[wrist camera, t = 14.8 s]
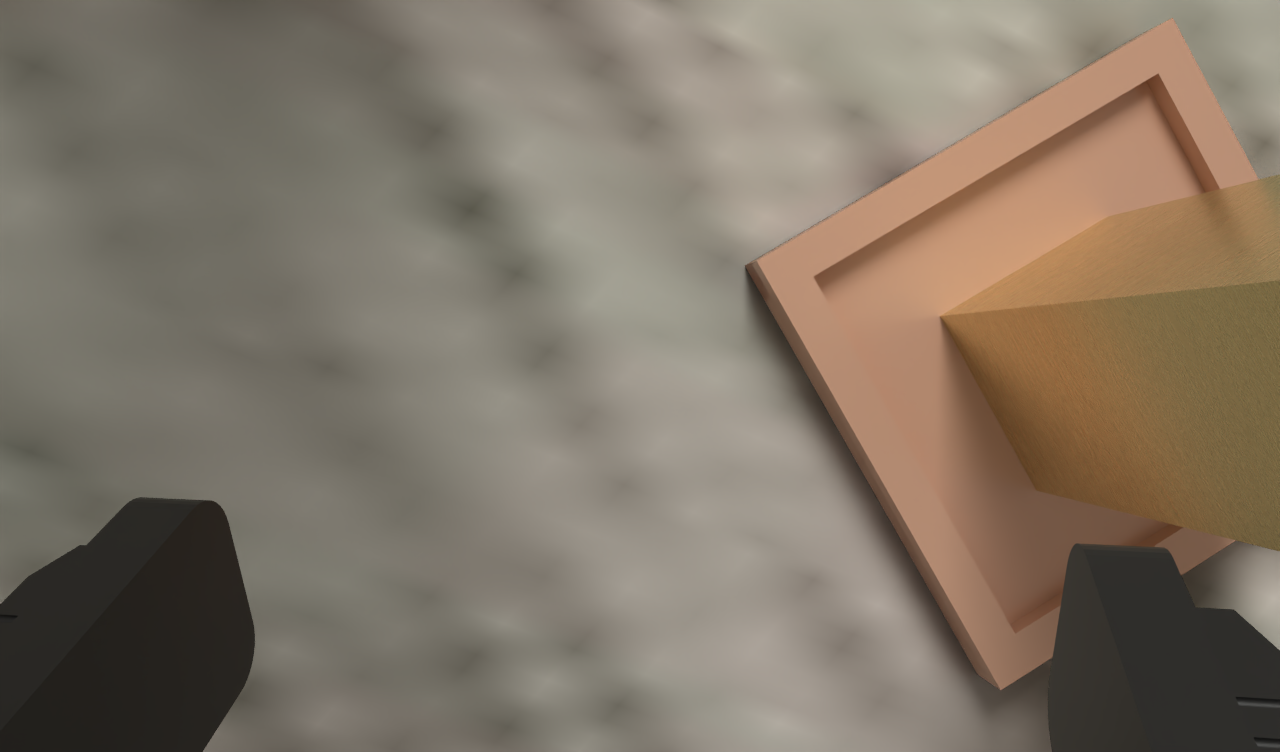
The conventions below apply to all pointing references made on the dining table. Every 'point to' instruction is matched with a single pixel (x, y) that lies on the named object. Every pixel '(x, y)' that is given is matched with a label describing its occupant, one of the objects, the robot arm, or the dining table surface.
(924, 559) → the terracotta dish
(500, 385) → the dining table surface
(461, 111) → the dining table surface
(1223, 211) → the tan tall block
